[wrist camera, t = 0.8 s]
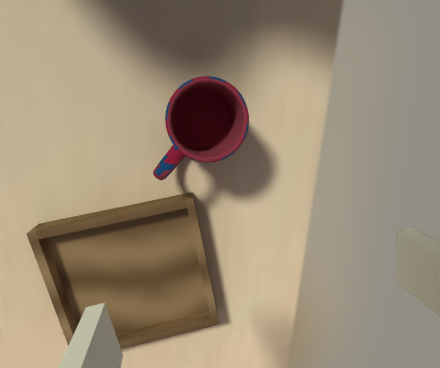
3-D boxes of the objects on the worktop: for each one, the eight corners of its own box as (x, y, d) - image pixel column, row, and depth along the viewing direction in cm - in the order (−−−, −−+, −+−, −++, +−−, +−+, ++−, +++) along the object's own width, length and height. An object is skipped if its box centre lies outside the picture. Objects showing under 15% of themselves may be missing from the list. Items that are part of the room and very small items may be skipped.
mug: (246, 122, 30) (265, 124, 24) (176, 185, 31) (176, 205, 24) (203, 70, 28) (211, 57, 22) (130, 139, 29) (116, 146, 22)
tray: (38, 224, 30) (26, 233, 27) (192, 192, 31) (193, 198, 29) (81, 342, 33) (74, 360, 31) (216, 309, 35) (219, 323, 33)
